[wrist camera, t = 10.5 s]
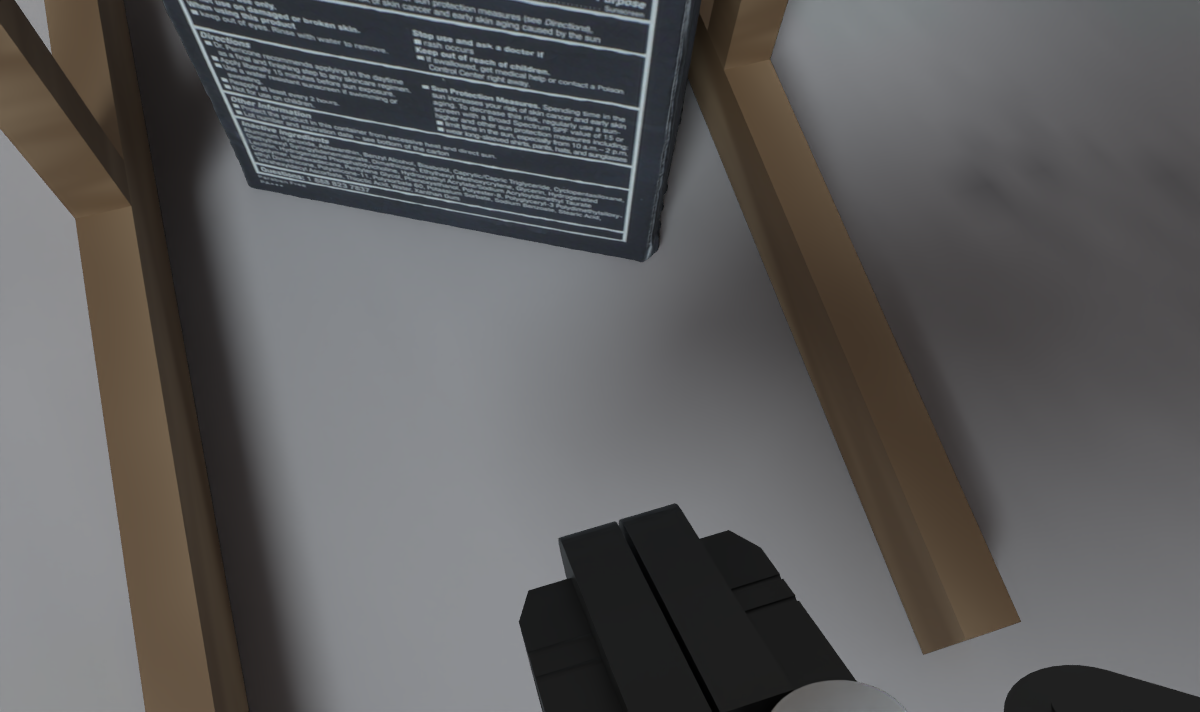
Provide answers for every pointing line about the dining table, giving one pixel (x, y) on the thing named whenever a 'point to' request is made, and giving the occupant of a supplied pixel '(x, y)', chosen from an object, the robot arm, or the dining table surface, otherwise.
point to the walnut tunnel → (163, 386)
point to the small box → (456, 108)
